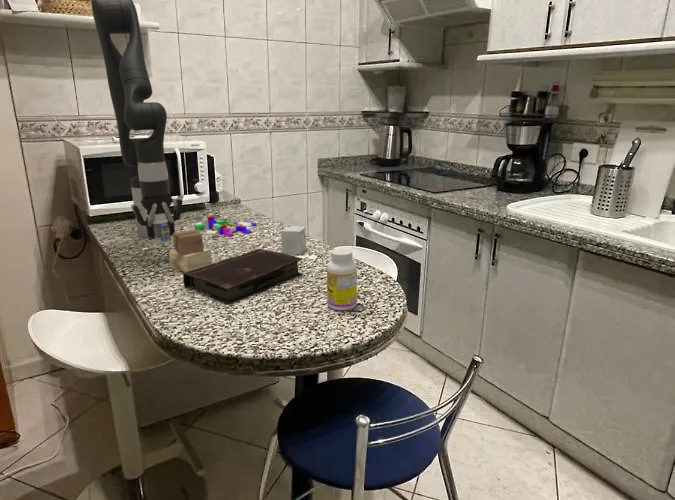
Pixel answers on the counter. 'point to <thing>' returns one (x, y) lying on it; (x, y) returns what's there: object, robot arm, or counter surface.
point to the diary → (243, 275)
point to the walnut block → (188, 242)
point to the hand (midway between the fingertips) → (161, 236)
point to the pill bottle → (161, 228)
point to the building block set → (224, 226)
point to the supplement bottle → (341, 280)
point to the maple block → (190, 260)
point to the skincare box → (293, 240)
